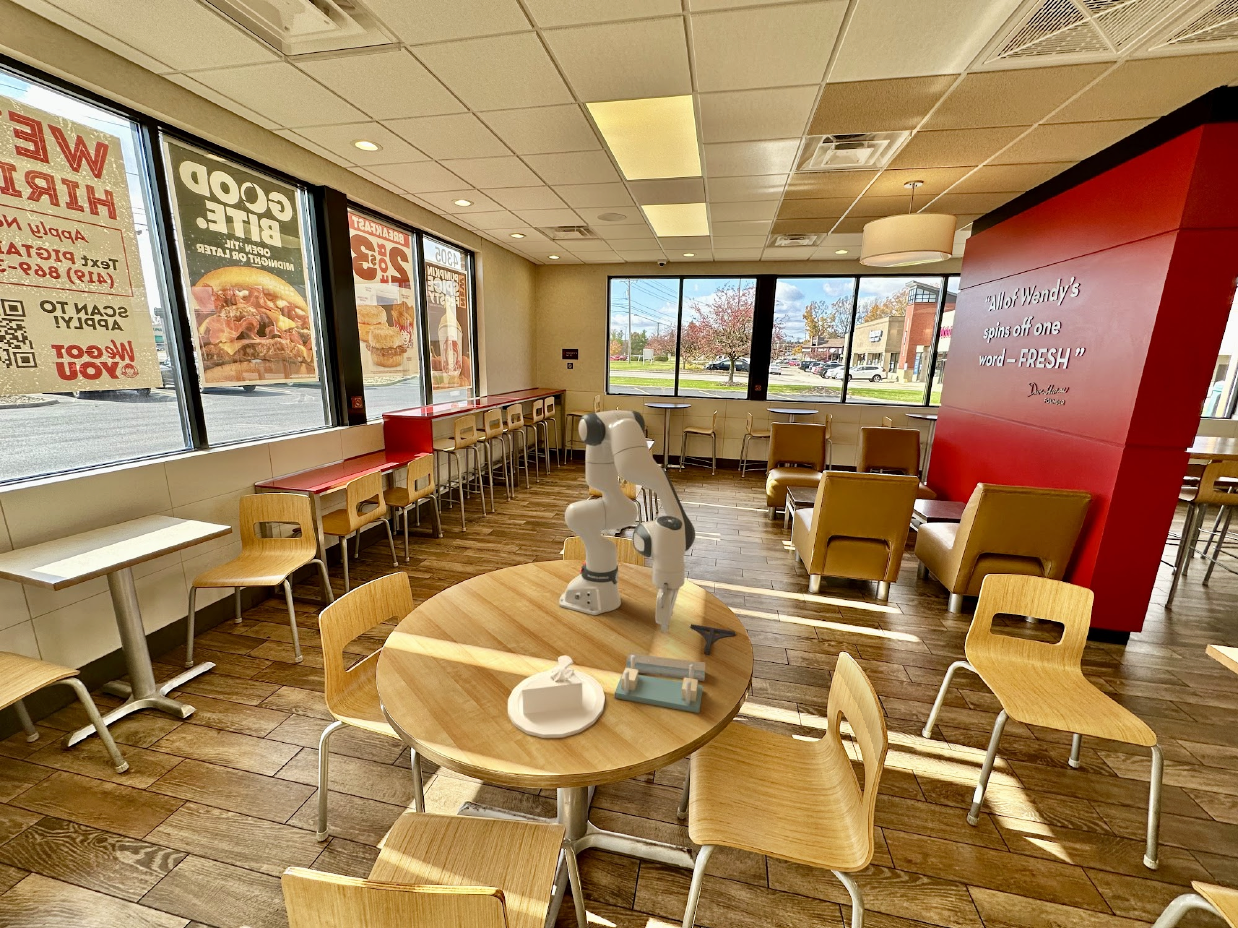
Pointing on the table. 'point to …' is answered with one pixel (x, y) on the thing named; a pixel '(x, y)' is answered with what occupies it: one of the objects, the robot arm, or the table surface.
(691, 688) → the rack
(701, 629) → the bracket
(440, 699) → the table surface
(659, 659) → the long grey flat plank
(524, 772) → the table surface
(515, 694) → the dish
